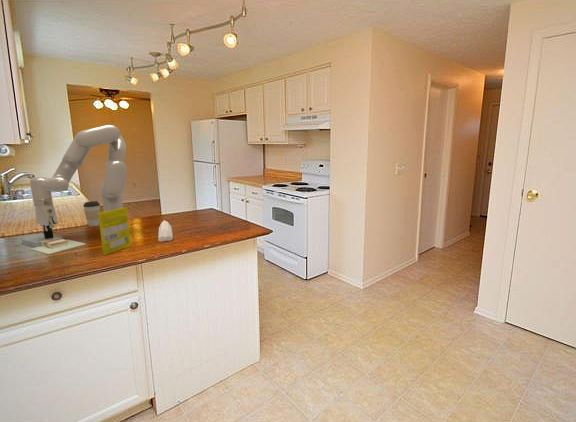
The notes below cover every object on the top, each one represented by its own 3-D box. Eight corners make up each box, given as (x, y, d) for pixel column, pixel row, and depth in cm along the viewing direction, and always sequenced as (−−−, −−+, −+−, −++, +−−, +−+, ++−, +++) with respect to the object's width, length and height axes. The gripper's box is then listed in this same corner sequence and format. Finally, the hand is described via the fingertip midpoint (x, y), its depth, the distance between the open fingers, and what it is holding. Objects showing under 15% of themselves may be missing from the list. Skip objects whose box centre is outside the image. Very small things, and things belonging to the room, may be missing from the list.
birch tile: (68, 244, 155) (67, 240, 154) (52, 248, 149) (51, 244, 148) (57, 242, 159) (56, 237, 159) (41, 245, 153) (40, 241, 153)
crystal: (176, 234, 162) (174, 223, 184) (163, 228, 159) (163, 218, 181) (169, 246, 162) (169, 234, 184) (156, 241, 159) (157, 230, 181)
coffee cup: (85, 227, 190) (82, 203, 187) (85, 224, 198) (82, 201, 195) (102, 225, 195) (99, 202, 192) (102, 222, 203) (99, 199, 199)
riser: (63, 241, 162) (62, 236, 161) (36, 247, 151) (35, 243, 151) (48, 237, 168) (48, 233, 167) (22, 243, 158) (21, 239, 157)
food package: (130, 245, 155) (126, 206, 151) (131, 245, 155) (127, 207, 151) (102, 255, 141) (97, 212, 137) (104, 255, 141) (98, 213, 137)
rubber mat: (86, 244, 157) (86, 243, 157) (48, 254, 142) (48, 253, 142) (68, 240, 164) (68, 239, 164) (30, 249, 149) (30, 248, 149)
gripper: (59, 202, 152) (65, 238, 156) (44, 200, 159) (49, 234, 163) (42, 205, 146) (48, 242, 149) (26, 202, 152) (32, 238, 156)
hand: (49, 237), depth 156 cm, fingers closed
